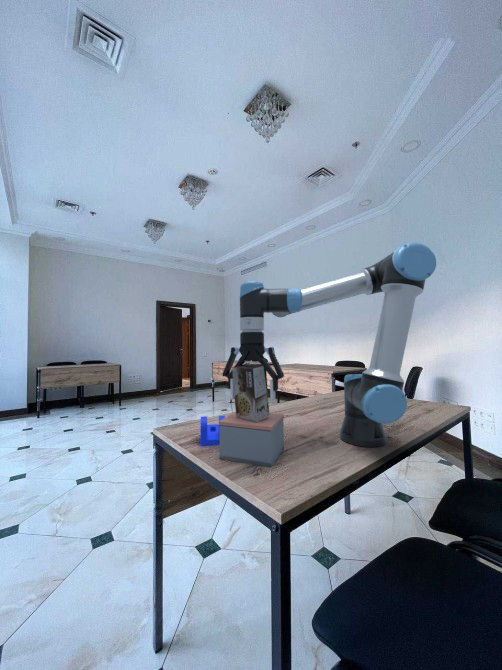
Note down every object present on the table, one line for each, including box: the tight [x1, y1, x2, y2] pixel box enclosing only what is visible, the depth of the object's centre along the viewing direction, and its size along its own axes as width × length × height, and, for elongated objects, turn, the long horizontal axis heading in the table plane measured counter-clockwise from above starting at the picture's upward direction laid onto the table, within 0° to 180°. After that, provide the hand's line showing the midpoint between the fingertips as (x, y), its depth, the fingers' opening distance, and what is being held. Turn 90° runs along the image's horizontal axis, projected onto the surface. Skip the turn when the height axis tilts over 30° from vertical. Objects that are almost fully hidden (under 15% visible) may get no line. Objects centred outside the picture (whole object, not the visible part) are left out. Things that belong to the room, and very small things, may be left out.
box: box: [219, 418, 285, 468], centre depth 86 cm, size 16×14×10 cm
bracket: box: [200, 415, 226, 447], centre depth 102 cm, size 18×8×9 cm, turn 8°
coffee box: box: [231, 363, 270, 422], centre depth 86 cm, size 9×6×16 cm
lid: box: [218, 411, 285, 431], centre depth 86 cm, size 16×14×1 cm
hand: (252, 400), depth 86 cm, fingers open, 12 cm apart
